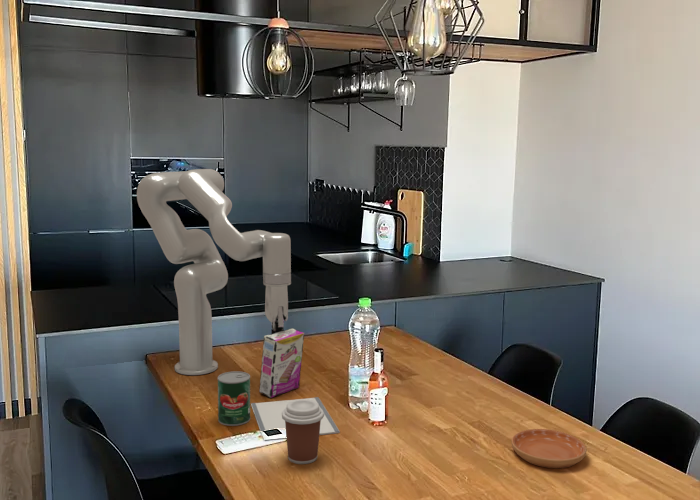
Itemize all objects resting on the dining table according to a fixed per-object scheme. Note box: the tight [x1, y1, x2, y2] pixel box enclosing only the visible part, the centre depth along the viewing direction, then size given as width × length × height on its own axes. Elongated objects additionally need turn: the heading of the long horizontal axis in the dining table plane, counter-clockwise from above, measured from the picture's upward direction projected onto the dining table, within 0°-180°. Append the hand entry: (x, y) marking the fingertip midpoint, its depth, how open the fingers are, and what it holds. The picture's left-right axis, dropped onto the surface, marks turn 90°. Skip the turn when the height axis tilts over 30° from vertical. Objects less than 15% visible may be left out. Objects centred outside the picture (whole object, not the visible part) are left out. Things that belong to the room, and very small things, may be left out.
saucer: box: [511, 428, 587, 469], centre depth 152 cm, size 16×16×3 cm
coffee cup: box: [282, 398, 324, 465], centre depth 148 cm, size 9×9×12 cm
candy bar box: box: [259, 327, 305, 399], centre depth 186 cm, size 11×5×16 cm, turn 141°
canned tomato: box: [217, 370, 251, 427], centre depth 168 cm, size 8×8×11 cm
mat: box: [250, 396, 341, 436], centre depth 170 cm, size 22×18×1 cm
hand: (277, 343), depth 190 cm, fingers closed
